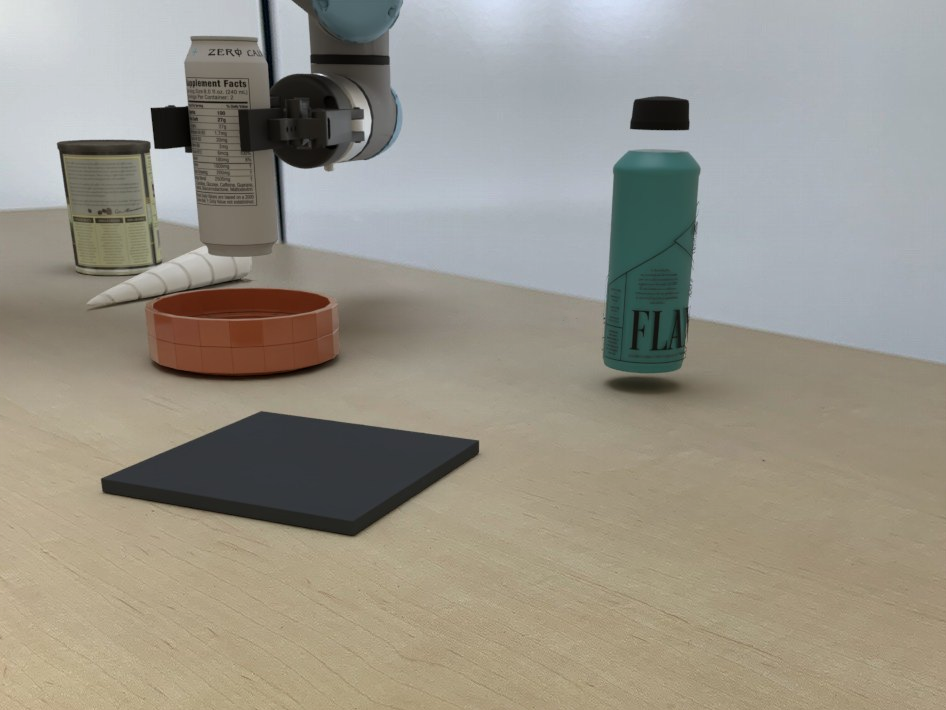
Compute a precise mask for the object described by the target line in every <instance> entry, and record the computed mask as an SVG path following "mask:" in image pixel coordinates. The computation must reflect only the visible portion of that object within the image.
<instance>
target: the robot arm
mask: <svg viewBox="0 0 946 710" xmlns="http://www.w3.org/2000/svg"><path fill="white" fill-rule="evenodd" d="M291 1H292V2H293V3H294V4H296V6H298V7H299V8H300V9H302V11H304V12H305V13H307V19H308V35H309V48H310V55H309V62H310V73H291V74H289V75H286V76H284V77H282V78H280V79H279V80H278V81H276V82H275V83H274V84H273V85H272V86H271V87H270V88H269V93H270V108H265V109H243V110H238V118H239V131H240V145H241V152H253V151H261V150H269V149H273V154H274V155H276V157H277V158H278V159H279V160H281V161H282V162H283V163H284V164H286V165H289V166H291V167H293V168H297V169H303V170H309V169H317V168H321V167H323V170H324V171H326V172H328V173H329V172H333V171H335V169H336V168H335V167H336V166H335V165H336V164H342V163H343V164H344V163H350V162H355V161H368V160H371V159H374V158H376V157H377V156H379V155H381V154H383V153H385V152H386V151H387V150H388V149H390V148H391V147H392V146H393V145H394V143H395V142H396V141H397V139H398V138H399V135H400V133H401V130H402V127H403V108H402V103H401V101H400V99H399V97H398V94H397V93H396V91H395V89H394V88H393V87H392V86H391V57H390V30H392V28H393V27H394V26H395V24H396V22H397V21H398V19H399V17H400V11H401V8H402V6H403V4H404V0H291ZM150 118H151V127H152V137H153V148H154V150H169V149H170V150H171V149H178V148H179V149H180V148H181V149H182V148H184V153H186V154H192V145H191V134H190V122H189V111H188V105H185V106H176V105H175V104H167V105H165V106H164V107H162V106H161V107H150Z"/></svg>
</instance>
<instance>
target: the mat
mask: <svg viewBox="0 0 946 710" xmlns="http://www.w3.org/2000/svg"><path fill="white" fill-rule="evenodd" d="M479 453H480V440H479V439H471V438H464V437H457V436H449V435H443V434H435V433H427V432H420V431H413V430H406V429H405V430H404V429H398V428H391V427H383V426H376V425H369V424H361V423H355V422H354V423H352V422H345V421H338V420H330V419H325V418H316V417H308V416H301V415H293V414H285V413H280V412H279V413H278V412H271V411H264V410H260V411H258V412H255V413H253V414H251V415H249V416H246V417H244V418H241V419H239V420H236V421H234V422H232V423H229V424H227V425H224V426H222V427H220V428H217V429H215V430H213V431H211V432H207V433H205V434H203V435H201V436H198V437H195V438H194V439H192V440H189V441H187V442H185V443H182V444H179V445H177V446H174V447H172V448H170V449H167V450H165V451H163V452H160V453H158V454H155V455H154V456H151V457H149V458H146V459H144V460H141V461H139V462H137V463H134V464H132V465H129V466H128V467H125V468H123V469H120V470H117V471H115V472H113V473H110V474H108V475H106V476H104V477H101V478H100V484H101V491H102V493H107V494H114V495H119V496H124V497H130V498H136V499H142V500H147V501H152V502H159V503H164V504H170V505H175V506H182V507H188V508H193V509H197V510H203V511H210V512H216V513H222V514H227V515H232V516H233V515H234V516H239V517H244V518H251V519H256V520H262V521H267V522H273V523H278V524H283V525H284V524H285V525H290V526H297V527H303V528H308V529H313V530H319V531H325V532H331V533H337V534H341V535H348V536H355V535H357V534H358V533H360V532H361V531H362V530H364V529H366V528H367V527H369V526H370V525H371V524H373V523H374V522H376V521H378V520H379V519H381V518H383V517H384V516H386V515H387V514H389V513H390V512H392V511H393V510H395V509H396V508H398V507H399V506H400V505H402V504H404V503H405V502H407V501H408V500H409V499H411V498H412V497H414V496H416V495H417V494H418V493H420V492H422V491H423V490H425V489H426V488H427V487H429V486H431V485H432V484H434V483H435V482H437V481H438V480H440V479H441V478H442V477H444V476H446V475H447V474H449V473H451V472H452V471H453V470H455V469H457V468H458V467H460V466H461V465H463V464H464V463H466V462H467V461H468V460H470V459H472V458H473V457H474V456H476V455H478V454H479Z"/></svg>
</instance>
